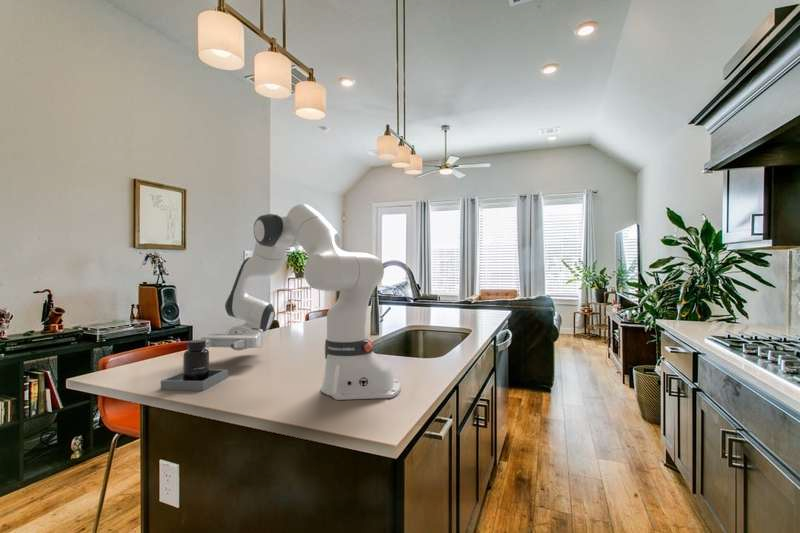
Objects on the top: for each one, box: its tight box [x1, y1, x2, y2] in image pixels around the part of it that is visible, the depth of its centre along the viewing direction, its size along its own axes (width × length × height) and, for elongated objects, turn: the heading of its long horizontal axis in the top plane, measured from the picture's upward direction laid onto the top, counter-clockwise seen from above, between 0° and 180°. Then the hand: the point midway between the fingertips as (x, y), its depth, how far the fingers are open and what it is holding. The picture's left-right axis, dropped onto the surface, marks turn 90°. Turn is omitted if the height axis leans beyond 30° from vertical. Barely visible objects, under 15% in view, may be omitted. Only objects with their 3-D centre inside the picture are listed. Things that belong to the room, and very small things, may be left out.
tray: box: [160, 368, 228, 392], centre depth 113 cm, size 13×13×2 cm
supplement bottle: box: [182, 339, 210, 381], centre depth 113 cm, size 7×7×12 cm
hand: (219, 345), depth 125 cm, fingers open, 8 cm apart
